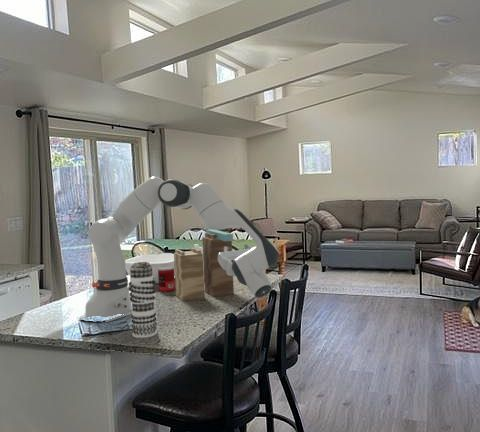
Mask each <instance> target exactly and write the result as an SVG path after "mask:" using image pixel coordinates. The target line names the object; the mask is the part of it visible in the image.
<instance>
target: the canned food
mask: <svg viewBox="0 0 480 432" xmlns="http://www.w3.org/2000/svg"><path fill="white" fill-rule="evenodd" d="M158 280H159V284H158V289H159V291H160V292H164V293H166V292H173V291H174V290H176V287H175V276H174V267H170V266H167V267H160V268H158Z"/></svg>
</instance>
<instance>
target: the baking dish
mask: <svg viewBox="0 0 480 432" xmlns="http://www.w3.org/2000/svg"><path fill="white" fill-rule="evenodd" d="M125 262H126V273H127V274H128V275H129V277H130V276H131V274H130V269H129V268H131V266H132V265H133V264H134V263H138V262H148V263H150V265H151V266H153V267H152V275H153V278H154V279H153V280H154V281H155V283H154V284H158V285H159V280H158V268H160V267H167V266H170V267H174V253H172V252H162V253H158V254H141V255H137V256H134V257H130V258H127V259H125ZM174 277H175V267H174Z"/></svg>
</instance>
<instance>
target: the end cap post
mask: <svg viewBox="0 0 480 432" xmlns="http://www.w3.org/2000/svg"><path fill="white" fill-rule="evenodd" d="M201 239H202V248H203V261H204V293H206V294H208V295H210V297H213V298H215V297H223V296H229V295H231V296H232V295H234V292H235V291H234V276H229V275H227V273H226V270H224V269H223V268H222V267H221V266H220V264H219V262H218V254H219V253H220V252H224V247H225V246H228V248H229V250H228V251H233V244H232V243H233V241H222V240H219V239H216V235H214V234H210V233H206V232H204V236H203V237H202V238H201Z"/></svg>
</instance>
